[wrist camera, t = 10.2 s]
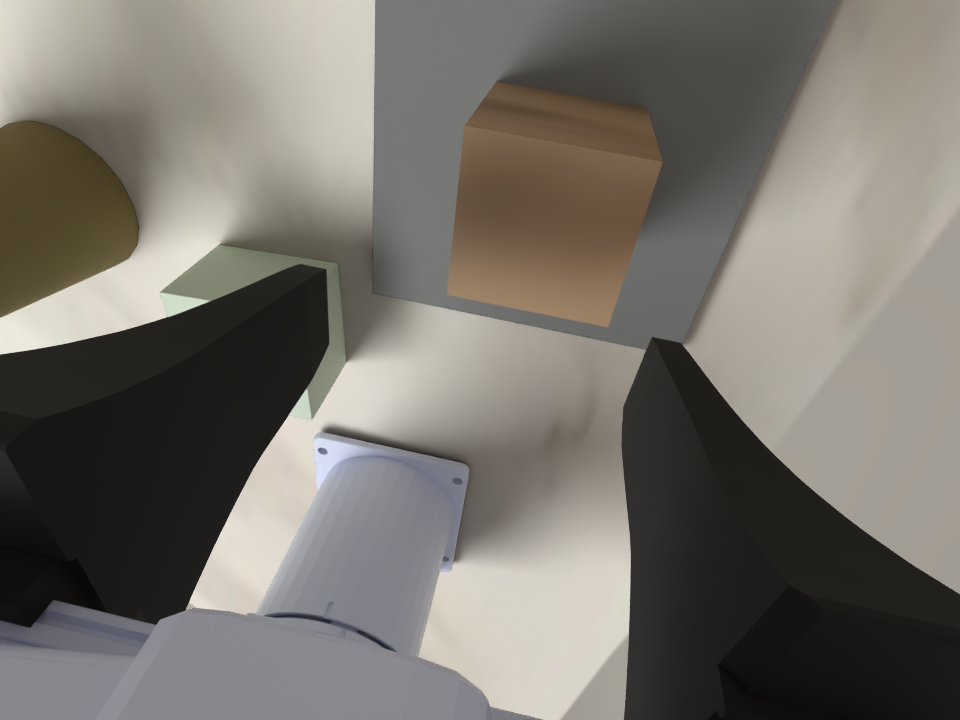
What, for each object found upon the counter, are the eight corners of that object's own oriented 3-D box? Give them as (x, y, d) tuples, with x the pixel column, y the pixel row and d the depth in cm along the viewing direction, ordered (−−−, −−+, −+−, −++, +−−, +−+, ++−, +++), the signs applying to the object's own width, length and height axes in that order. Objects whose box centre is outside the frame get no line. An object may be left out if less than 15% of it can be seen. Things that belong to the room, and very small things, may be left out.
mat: (675, 346, 22) (676, 355, 21) (377, 285, 22) (372, 293, 22) (837, -25, 14) (846, -24, 14) (383, -100, 15) (376, -102, 14)
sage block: (347, 360, 25) (311, 420, 22) (243, 342, 26) (193, 398, 22) (339, 261, 22) (296, 314, 19) (221, 243, 22) (159, 292, 19)
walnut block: (606, 247, 19) (608, 327, 15) (477, 221, 19) (446, 294, 15) (647, 108, 16) (662, 162, 12) (496, 81, 16) (464, 125, 12)
